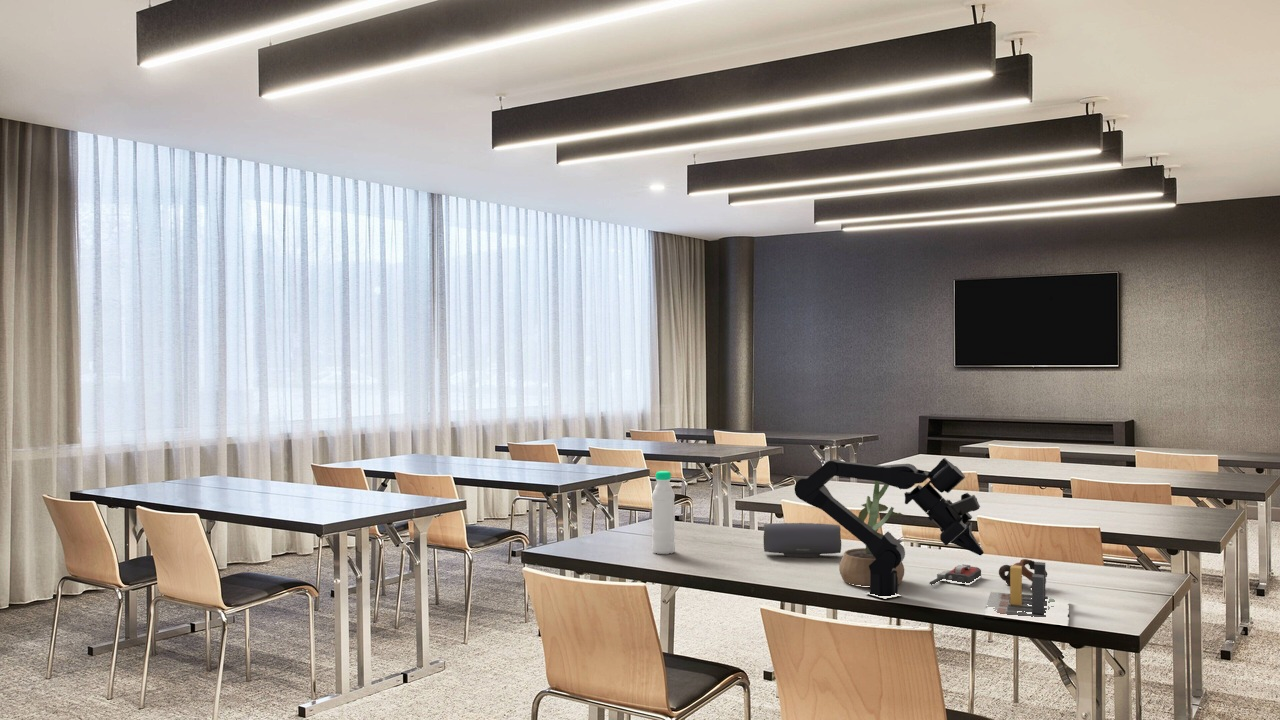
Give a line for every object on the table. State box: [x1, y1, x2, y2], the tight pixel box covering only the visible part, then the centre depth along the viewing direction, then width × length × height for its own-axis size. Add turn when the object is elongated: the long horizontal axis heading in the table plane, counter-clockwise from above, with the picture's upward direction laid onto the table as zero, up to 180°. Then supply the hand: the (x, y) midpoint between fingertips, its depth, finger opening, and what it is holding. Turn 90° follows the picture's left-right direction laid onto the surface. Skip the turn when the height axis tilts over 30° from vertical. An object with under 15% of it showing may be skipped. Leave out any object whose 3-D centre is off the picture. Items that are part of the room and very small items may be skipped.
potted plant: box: [838, 481, 907, 586], centre depth 252 cm, size 22×18×30 cm
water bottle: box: [651, 470, 676, 555], centre depth 289 cm, size 7×7×25 cm
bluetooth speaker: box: [763, 522, 842, 558], centre depth 283 cm, size 23×9×10 cm, turn 84°
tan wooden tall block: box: [1009, 564, 1023, 605], centre depth 222 cm, size 2×3×9 cm
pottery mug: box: [998, 558, 1048, 589], centre depth 243 cm, size 12×10×8 cm
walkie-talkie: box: [929, 563, 982, 586], centre depth 250 cm, size 9×4×20 cm
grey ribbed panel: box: [985, 561, 1055, 617], centre depth 221 cm, size 18×22×10 cm
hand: (982, 554), depth 225 cm, fingers closed
